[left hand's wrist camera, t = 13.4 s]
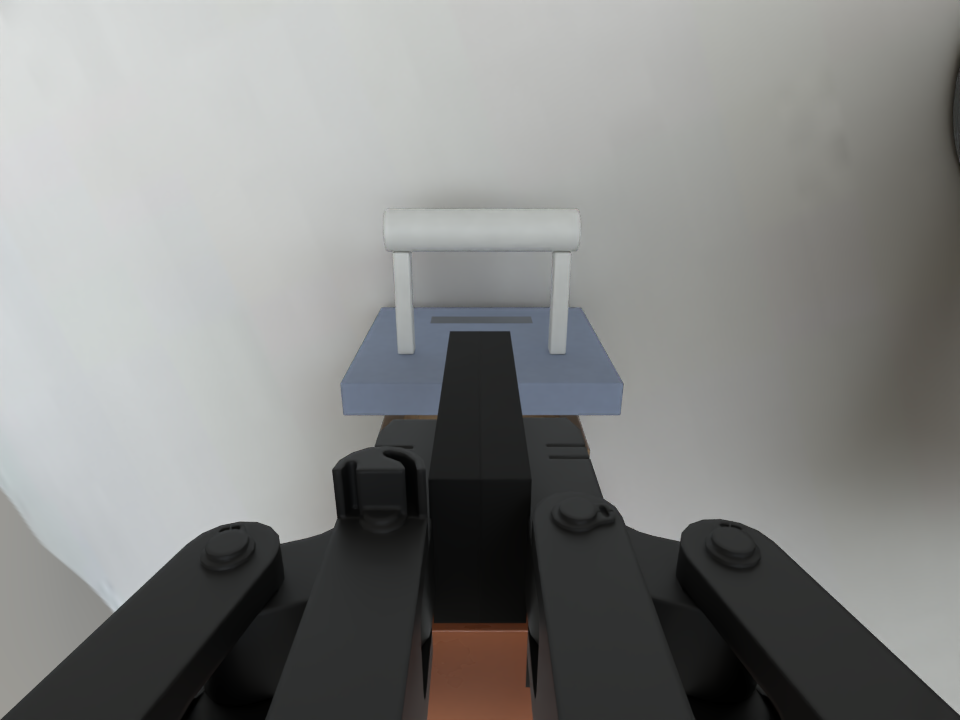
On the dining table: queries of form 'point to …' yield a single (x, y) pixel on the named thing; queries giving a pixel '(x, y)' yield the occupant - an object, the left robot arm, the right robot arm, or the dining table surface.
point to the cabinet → (479, 672)
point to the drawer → (482, 323)
